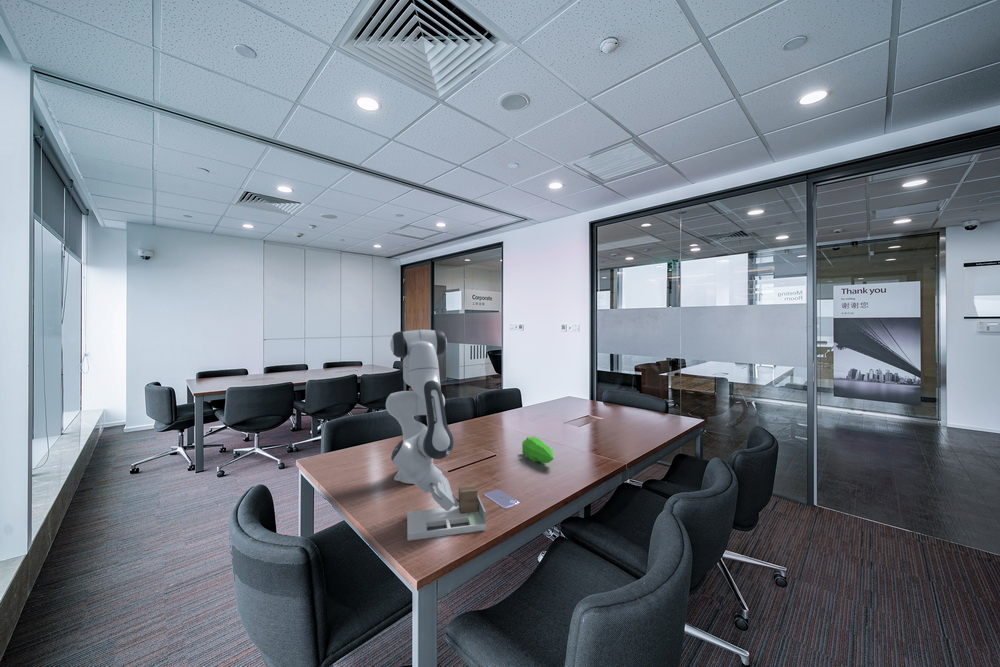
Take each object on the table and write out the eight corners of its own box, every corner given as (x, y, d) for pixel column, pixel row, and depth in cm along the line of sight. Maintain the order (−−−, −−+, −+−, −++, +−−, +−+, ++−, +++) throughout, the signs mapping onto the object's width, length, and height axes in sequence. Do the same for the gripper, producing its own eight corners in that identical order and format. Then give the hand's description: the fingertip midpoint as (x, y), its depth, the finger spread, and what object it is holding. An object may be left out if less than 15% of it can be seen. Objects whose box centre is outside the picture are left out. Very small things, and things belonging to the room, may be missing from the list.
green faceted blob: (530, 429, 202) (558, 442, 174) (538, 448, 203) (567, 464, 175) (513, 439, 198) (538, 454, 170) (520, 458, 199) (547, 476, 171)
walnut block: (458, 507, 133) (458, 486, 133) (475, 505, 135) (474, 484, 135) (460, 513, 128) (460, 492, 128) (477, 511, 130) (477, 490, 130)
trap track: (407, 517, 130) (407, 500, 130) (477, 509, 136) (477, 492, 136) (407, 540, 115) (407, 521, 115) (486, 530, 121) (485, 511, 121)
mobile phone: (498, 488, 153) (520, 501, 141) (498, 490, 153) (520, 504, 141) (482, 492, 149) (504, 507, 136) (482, 495, 149) (504, 509, 136)
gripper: (438, 483, 119) (468, 510, 121) (434, 462, 139) (459, 485, 141) (424, 498, 118) (455, 525, 120) (421, 475, 137) (448, 498, 140)
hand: (457, 504), depth 131 cm, fingers closed, pressing on walnut block
